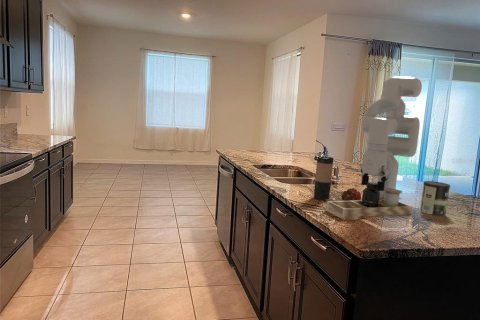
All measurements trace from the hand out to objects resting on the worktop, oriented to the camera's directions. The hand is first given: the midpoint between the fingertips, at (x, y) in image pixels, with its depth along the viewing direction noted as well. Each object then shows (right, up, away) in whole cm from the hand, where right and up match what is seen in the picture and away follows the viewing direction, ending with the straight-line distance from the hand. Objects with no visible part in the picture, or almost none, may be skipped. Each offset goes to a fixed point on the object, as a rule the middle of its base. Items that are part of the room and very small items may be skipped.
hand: (372, 187), depth 153 cm
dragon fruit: (-5, -9, +14) cm, 18 cm away
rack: (-1, -11, +1) cm, 11 cm away
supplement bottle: (-1, -10, +1) cm, 10 cm away
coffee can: (+29, -13, +6) cm, 32 cm away
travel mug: (-16, -7, +23) cm, 29 cm away
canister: (+9, -10, +4) cm, 14 cm away
